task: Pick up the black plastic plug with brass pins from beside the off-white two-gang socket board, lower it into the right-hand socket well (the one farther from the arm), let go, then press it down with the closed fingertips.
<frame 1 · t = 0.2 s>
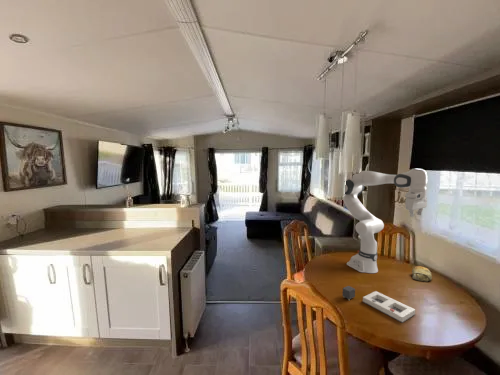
hand: (415, 215, 155), 48 cm above the table, fingers open, 8 cm apart
socket board: (387, 308, 136), on the table
pastry: (420, 278, 172), on the table
plug: (348, 297, 146), on the table
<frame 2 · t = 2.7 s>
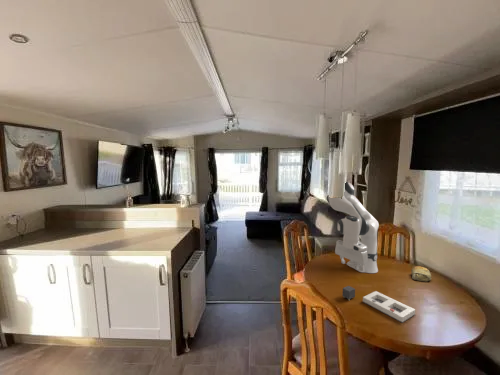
hand: (349, 266, 145), 20 cm above the table, fingers open, 8 cm apart
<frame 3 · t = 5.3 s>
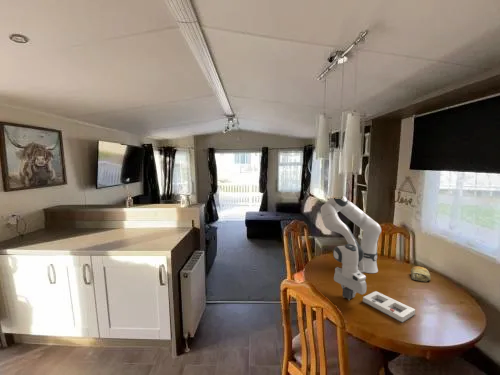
hand: (348, 294, 146), 2 cm above the table, fingers closed on plug, 4 cm apart
plug: (348, 297, 146), on the table, touching gripper
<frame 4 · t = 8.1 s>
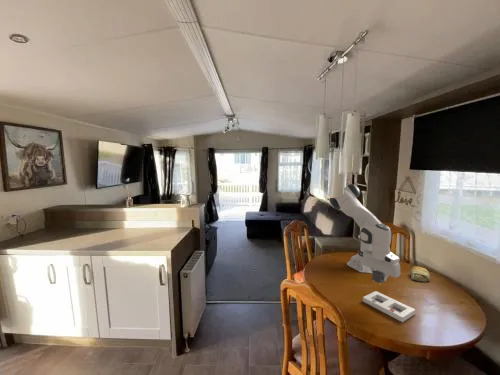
hand: (379, 278, 135), 17 cm above the table, fingers closed on plug, 4 cm apart
plug: (378, 282, 135), point 15 cm above the table, touching gripper
when the fingers open (4 cm above the table, at t = 11.1 s): plug drops 1 cm, resting on socket board.
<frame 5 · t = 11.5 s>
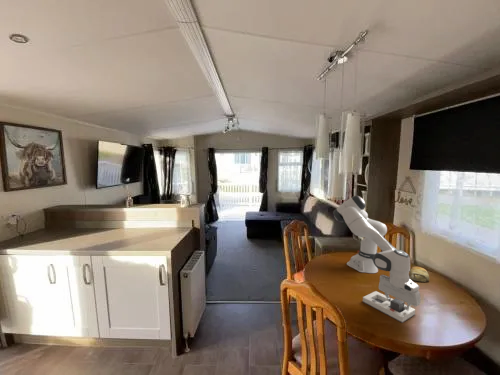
hand: (397, 305, 131), 4 cm above the table, fingers open, 8 cm apart
plug: (396, 311, 132), resting on socket board
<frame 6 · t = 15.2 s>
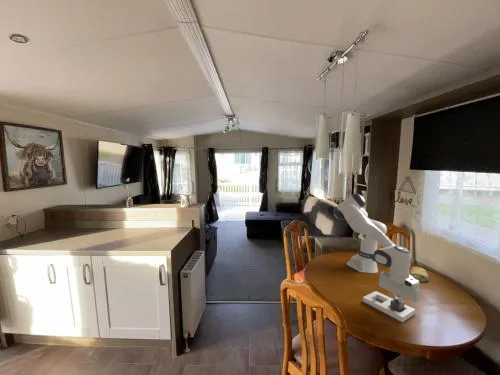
hand: (397, 301, 131), 7 cm above the table, fingers closed, pressing on plug
plug: (396, 311, 132), point 1 cm above the table, touching gripper, socket board
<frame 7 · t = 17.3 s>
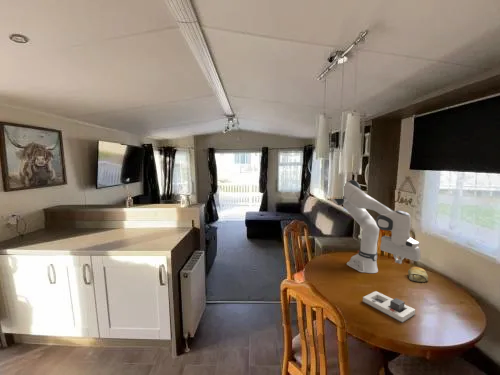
hand: (398, 262, 139), 24 cm above the table, fingers closed
plug: (396, 311, 132), resting on socket board
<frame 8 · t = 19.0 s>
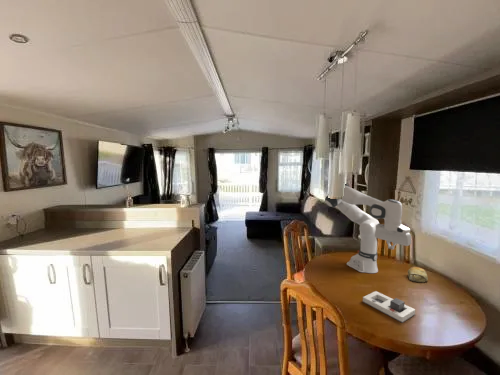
hand: (391, 248, 148), 29 cm above the table, fingers closed
at the end: plug 0.1 cm from the target spot on the socket board, point 0.5 cm above the socket board's base; plug tilted 0°; the gripper is holding nothing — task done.
